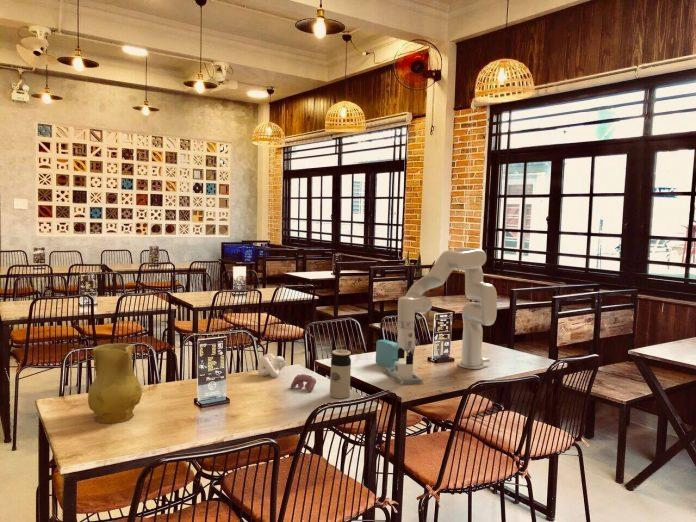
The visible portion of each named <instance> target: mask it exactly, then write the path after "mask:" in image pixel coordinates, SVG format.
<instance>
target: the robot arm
mask: <svg viewBox="0 0 696 522" xmlns="http://www.w3.org/2000/svg"><path fill="white" fill-rule="evenodd" d="M486 262H487V254H486V252H485V250H483V249H481V248H476V247H475V248H474V247H464V246H460V247H457V248H455V250H445V251H443V252H442V253H441V254H440V256H438V258H437V259H436V261H435V263H434V264H433V266H432V267H431V269H430V270H429V272H428V273H427V274H426V275H423V276H422V277H421V278H420V279H418V280H417V281H416V282H414V283H413V284H412V285H411V286H410V287H409V289H408V290H407V292H406V293H405V295H404V296H400V297H399V298H398V301H397V328H398V329H397V339H396V341H397V342H396V343H397V345H398V348H397V349H398V359H399V360H400V359H405V361H406V364H407V365H409V364H413V365H414V355H415V349H416V336H415V334H416V333H415V315H416V314H415V313H418V314H419V313H421V314H423V313H424V314H425V313H427V312H429V311H430V310H431V309H432V307H433V301H432V300H431V299H430V298H429V297H427V296H425V295H423V294H424V293H426V292H427V291H429V290H432V289H434V288H438V287H440V286H442V285H444V283H445V282H447V280H448V278H449V276H450V275H451V274H452V273H453V270H456V271H464V281H465V282H464V286H465V287H464V293H465V297H466V299H468V300H469V301H474V302H468V303H465V305H464V306H463V308H462V310H461V316H462V323H463V325H462V327H463V328H462V329H463V330H462V343H461V357H460V358H461V360H459V361H458V362H457V365H458V366H459V367H461V368H463V369H469V370H481V369H483V368H484V367H485V364H484V363H490V362H491V361H490V360H491V359H490V358H489V357H487V358H486V357H482V350H483V334H484V333H483V332H484V330H483V326H486V327H487V326H488V327H489V326H492V325H494V324H495V321H496V319H497V315H498V314H497V313H498V311H497V308H498V306H497V305H498V293H497V290H496V287H495V286H494V285H493V284H491V283H487V282H484V272H483V268H482V266H484V265H485V264H486ZM477 302H479V303H477ZM405 352H406V353H405ZM405 354H406V355H405Z"/></svg>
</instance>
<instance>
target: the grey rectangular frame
mask: <svg viewBox="0 0 696 522" xmlns="http://www.w3.org/2000/svg"><path fill="white" fill-rule="evenodd" d="M383 367H384V366H383ZM383 372H384V373H385V374H387V375H388V376H389V377H391V378H392V379H393V380H394V381H395V382H396V383H398V384H399V385H420V384H424V378H423V377H421V376H419V375H418V374H417V373H415V372H414V371H413V378H412V379H401V378H400V377H398V376H397V375H396V374H395V373H394V367H384V371H383Z"/></svg>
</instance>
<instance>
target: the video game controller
mask: <svg viewBox="0 0 696 522" xmlns="http://www.w3.org/2000/svg"><path fill="white" fill-rule="evenodd" d="M304 383H305V384H304ZM316 383H317V379H316V378H314V377H313V376H311V375H310V374H309V375H308V374H305V373H303V374H297V375H296V376H295V377H294V378H293V380H292V382H291V384H290V389H291V390H293V389H295V387H297V386H298V388H300V389H303V388H305V389H306V390H308V392H309V393H312V392H313V391H314V388H315V385H317V384H316Z"/></svg>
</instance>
